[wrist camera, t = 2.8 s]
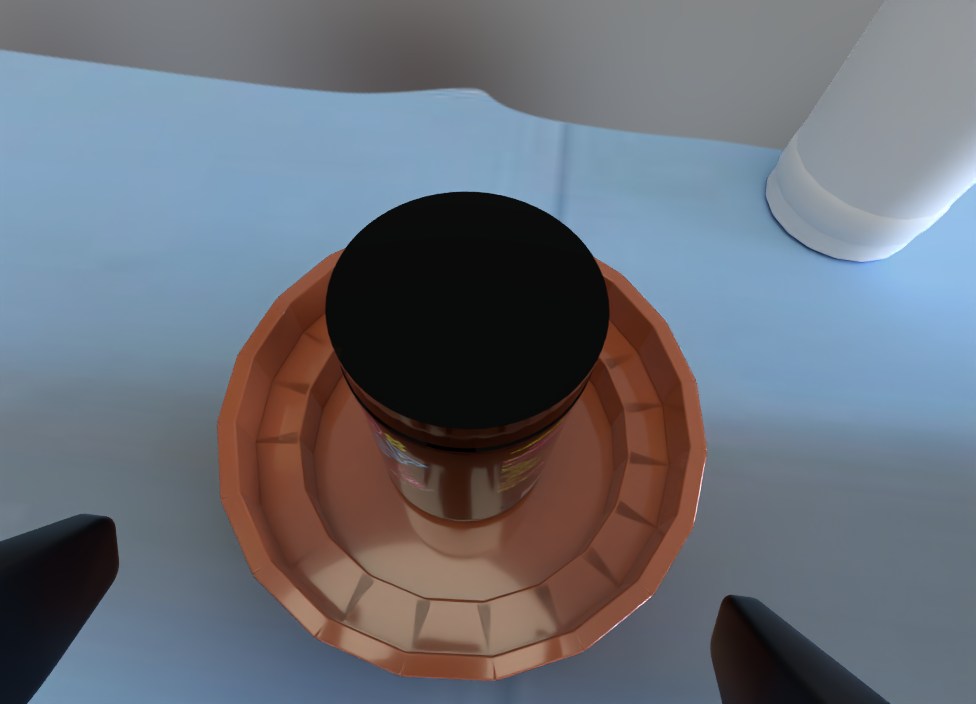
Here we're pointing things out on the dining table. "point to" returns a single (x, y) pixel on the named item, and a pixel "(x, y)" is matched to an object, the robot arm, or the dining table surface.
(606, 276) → the bowl
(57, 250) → the dining table surface
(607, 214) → the dining table surface
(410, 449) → the supplement container
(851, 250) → the bottle
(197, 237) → the dining table surface
